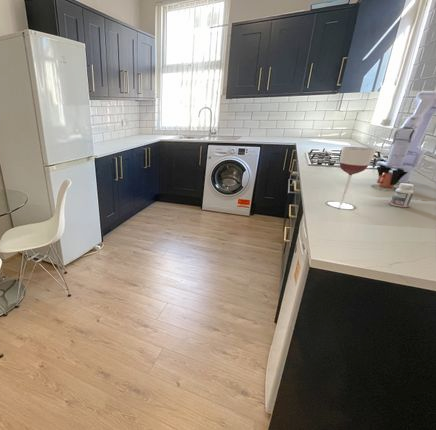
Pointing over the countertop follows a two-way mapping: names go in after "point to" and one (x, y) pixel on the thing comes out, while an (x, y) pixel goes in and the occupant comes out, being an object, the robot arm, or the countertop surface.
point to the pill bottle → (403, 195)
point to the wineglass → (353, 167)
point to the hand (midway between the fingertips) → (386, 183)
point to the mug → (385, 180)
